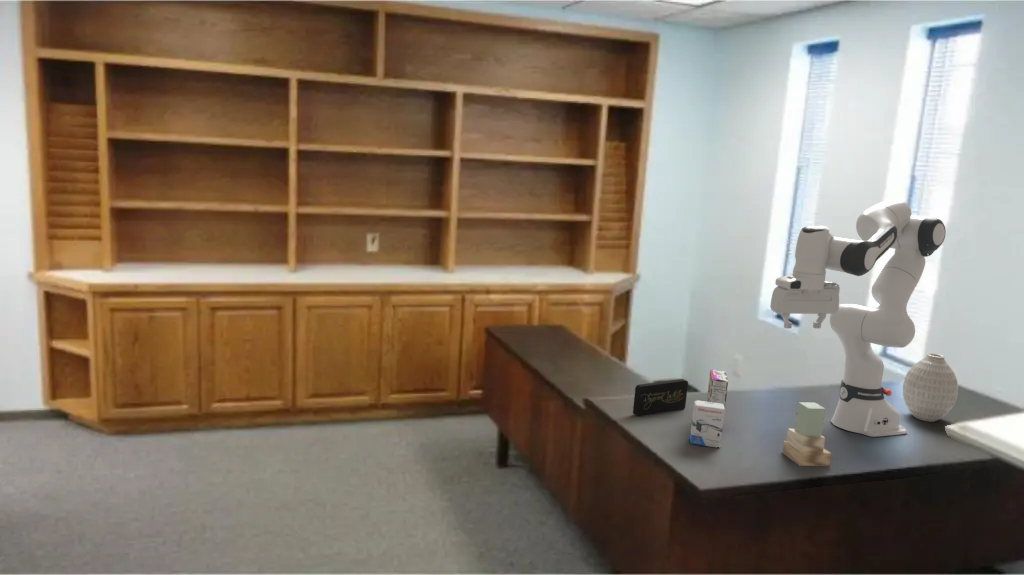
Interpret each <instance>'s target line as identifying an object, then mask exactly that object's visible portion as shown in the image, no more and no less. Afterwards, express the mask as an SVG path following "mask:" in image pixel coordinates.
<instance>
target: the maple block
mask: <svg viewBox="0 0 1024 575" xmlns="http://www.w3.org/2000/svg"><path fill="white" fill-rule="evenodd" d="M785 441H786V442H787V443H789V444H790V445H792V446H793V447H794V448H796V449H797V450H799V451H800V452H811V451H823V449H825V442H826V437H825V436H823V435H822V434H821V436H804V435H802V434H801V433H799V432H798V431H796V430H795V427H794V428H787V435H786V440H785Z"/></svg>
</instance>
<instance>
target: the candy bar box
mask: <svg viewBox="0 0 1024 575" xmlns="http://www.w3.org/2000/svg"><path fill="white" fill-rule="evenodd" d="M709 370H710V371H709V379H708V388H707V397H706V402H713V403H720V404H723V405H724V407H725V408H726V402H727V393H728V385H729V379H728V376H727V372H726V371H725V370H718V369H709Z"/></svg>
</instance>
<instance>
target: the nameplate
mask: <svg viewBox="0 0 1024 575" xmlns="http://www.w3.org/2000/svg"><path fill="white" fill-rule="evenodd" d="M688 386H689V381H688V380H687V379H683V378H679V379H672V380H664V381H656V382H649V383H640V384H637V385H635V387H634V388H635V389H634V396H633V397H634V400H633V406H632V408H633V410H632V414H633V415H634V416H635V417H646V416H650V415H651V414H652V415H656V414H657V413H658V414H662V413H669V412H676V411H681V410H685V408H686V404H687V396H688V395H687V394H688V388H689V387H688ZM658 414H657V415H658Z"/></svg>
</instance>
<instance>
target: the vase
mask: <svg viewBox="0 0 1024 575" xmlns="http://www.w3.org/2000/svg"><path fill="white" fill-rule="evenodd" d="M958 394H959V383H958V379H957V376H956V373H955V372H954V370H953V369H952V368H951V366H950V365H949V363H948V362H946V360H945V356H944V355H942V354H939V353H934V352H933V353H927V354H926V356H925V357H924V358H922V359H921V360H919V361H917V362H916V363H914V364H913V365H912V366H911V367H910V369H909V370H908V371H907V372H906V374H905V377H904V380H903V381H902V396H903V400H904V403H905V406H906V407H907V409H908V411H909V412H910V413H911V415H912V416H913V418H916V419H917V420H919V421H923V422H930V423H931V422H933V423H934V422H937V421H939V420H941V419H942V418H943V417H945V416H946V415H947V414H948V413H949V412H950V411H951V410H952V409H953V407H954V406H955V404H956V402H957V399H958Z"/></svg>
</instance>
